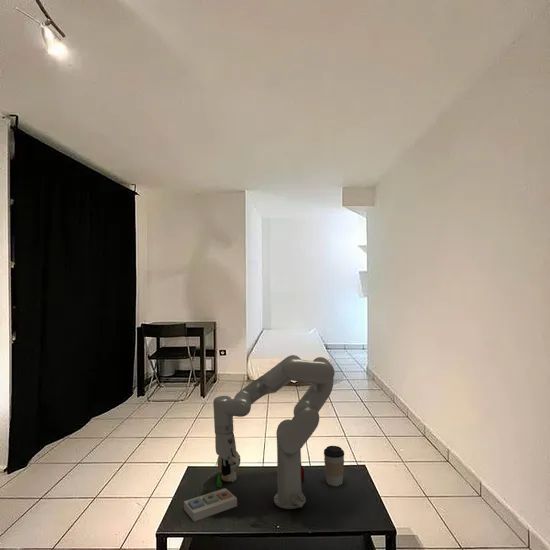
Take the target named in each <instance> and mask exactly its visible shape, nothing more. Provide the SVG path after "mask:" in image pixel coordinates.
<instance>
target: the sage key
mask: <svg viewBox="0 0 550 550" xmlns="http://www.w3.org/2000/svg"><path fill="white" fill-rule="evenodd" d="M211 493H212V492H211ZM208 494H209V493H208ZM205 495H206V494H205ZM203 501H204V502H205V503H206V504H207V505H208V504H211V503H214V502H217V501H219V498H218V497H217V496H216V495H215V494H214V493H212V494H209V495H206V496H203Z"/></svg>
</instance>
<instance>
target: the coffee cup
mask: <svg viewBox="0 0 550 550" xmlns="http://www.w3.org/2000/svg"><path fill="white" fill-rule="evenodd" d="M323 457H324V459H323V461H324V472H325V478H326V483H328V484H327V485H329V486H331V485H332V487H340V486H342V485H343V480H344V476H343V475H344V470H345V469H344V467H345V451H344V450H343V448H342V447H340V446H339V445H329V446H326V448H324V449H323ZM341 484H342V485H341ZM339 485H340V486H339Z"/></svg>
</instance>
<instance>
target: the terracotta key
mask: <svg viewBox="0 0 550 550" xmlns="http://www.w3.org/2000/svg"><path fill="white" fill-rule="evenodd" d="M228 491H229V490H228ZM228 491H225V492H222V493H218V494H217V496H218V497H219V498H220V499H221V500H223V499H226V498H229V497H232V495H231V494H230V493H231V492H230V491H229V492H230V493H229V492H228Z"/></svg>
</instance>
